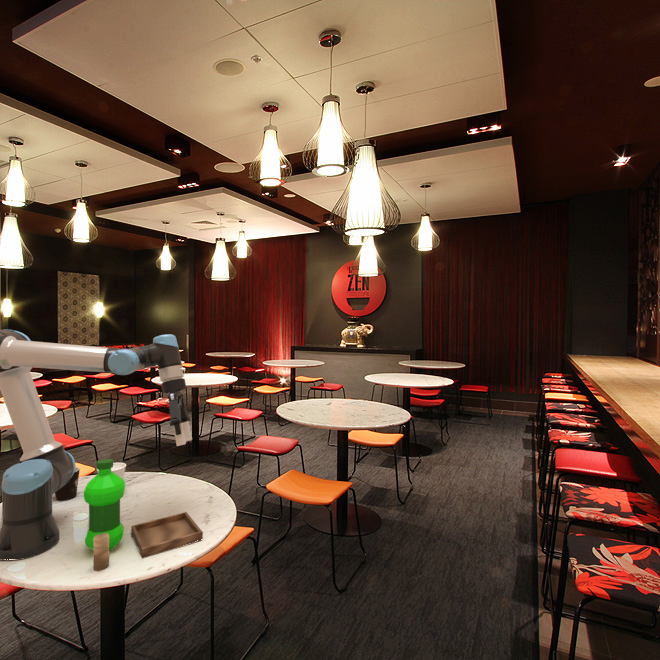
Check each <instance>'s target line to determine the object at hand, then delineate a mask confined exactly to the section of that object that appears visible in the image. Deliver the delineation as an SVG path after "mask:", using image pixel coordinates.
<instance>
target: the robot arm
mask: <svg viewBox="0 0 660 660" xmlns="http://www.w3.org/2000/svg"><path fill="white" fill-rule="evenodd" d="M152 367H153V368H154V367H157V368H158V374H159V375H158V376H159V381H160V382H161V384H160V385H161V390H162V393H163V394H164V395H165V394H166V395H167V399H168V405H169V418H170V419H169V420H170V423H169V426H170V427H172V428H173V429H172V430H173V434H174V439H175V443H176V447H179V446H185V445H186V444H187V442H189V441H192V440H193V437H192V432H191V431H192V430H191V426H190V421H192V420H191V417H190V416H189V413H188V410H187V406H186V402H185V399H184V394H183V393H181V391H184V390H186V389H187V385H186V384H187V383H186V379H185V378H183V377H184V376H185V375H184V371H185V370H186V369H185V367H183V364H182V360H181V354H180V348H179V344H178V340H177V337H176V335H174V334H167V333H166V334H161V335H158V336H155V337H154V338H153V339H152V343H151V344H148V345H143V346H138V347H137V346H136V347H131V348H117V347H104V346H91V345H83V344H82V345H79V344H68V343H59V342H58V343H55V342H46V341H45V342H44V341H35V340H34V341H33V340H31V339H30V338H29V336H28V335H26V334H24V333H23V332H20V331H18V330H13V329H9V328H8V329H0V392H1V395H2V398H3V400H4V403H5V406H6V409H7V411H8V414H9V418H10V421H11V422H12V426H13V428H14V430H15V431H14V432H15V433H16V436H17V439H18V441H19V443H20V446H21V449H22V453H23V454H22V455H21V457H20V458H19V462H20V463H16V464H13V465H12V466H10V467H8V468H7V469H5V472H4V473H3V475H2V481H1V497H2V498H1V506H2V514H1V515H2V517H1V520H2V525H1V528H0V559H6V560H7V559H8V560H9V559H19V560H23V559H22V558H24V559H28V558H31V557H33V556H34V555H35V556H37V555H40V554H43V553H44V552H46V551H48V550H50V549H51V548H53V547H55V546H56V545H57V544H58V543H59V541H60V530H59V527H58V525H57V522H56V520H55V518H54V515H53V495H55V493H56V492H57V491H58V490H59V489H60V488H62V487H63V486H64V485H66V484H67V483H68V481H69V480H70V479H71V477H72V476H73V474H74V472H75V467H77V466H76V460H75V458H74V456H73V455H72V454H71V453H70V452H68V451H66V450H65V448H64V445H63V443H62V442H59V441H56V439H55V437H54V434H53V432H52V429H51V426H50V423H49V420H48V417H47V416H46V413H45V410H44V407H43V403H42V401H41V399H40V396H39V394H38V391H37V388H36V385H35V382H34V380H33V377H32V375H31V370H32V369H33V368H34V369H35V368H36V369H37V368H38V369H39V368H40V369H52V370H66V371H67V370H68V371H81V372H82V371H83V372H95V373H96V372H98V373H110V374H115V375H118V376H127V375H131V374H133V373H134V372H137V371H139V370H140V371H141V370H144V369H148V368H152ZM30 556H31V557H30ZM27 557H28V558H27ZM6 560H5V561H6ZM9 561H10V560H9Z"/></svg>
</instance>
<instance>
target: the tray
mask: <svg viewBox="0 0 660 660" xmlns="http://www.w3.org/2000/svg"><path fill="white" fill-rule="evenodd" d="M130 527H131V528H130V529H131V530H130V531H131V532H130V534H131V537H132V539H133V541H134V543H135V545H136V546H137V547H136V548H137V550H138V552H139V553H140V556H141V558H142V559H144V558H146V557H147V558H148V557H151V556H154V555H157V554H160V553H165V552H167V551H171V550H174V548H175V549H178V548H181V547H184V546H183V545H185V546H187V545H186V544H188V545H190V544H189V543H191V544H193V543H192V542H195V541H197V540H201V539H204V538H203V537H204V535H203V534H204V533H203V530H202V529H201V528H200V527H199V526H198V524H197V523H196V522H195V521H194V520H193V518H192V517H191V516H190V514H189V513H188V512H187V511H183V512H180V513H177V514H173V515H170V516H165V517H161V518H157V519H152V520H149V521H146V522H141V523H137V524H134V525H133V524H132V525H131V526H130ZM201 541H202V540H201ZM195 543H196V542H195ZM180 546H181V547H180ZM177 547H178V548H177Z"/></svg>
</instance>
